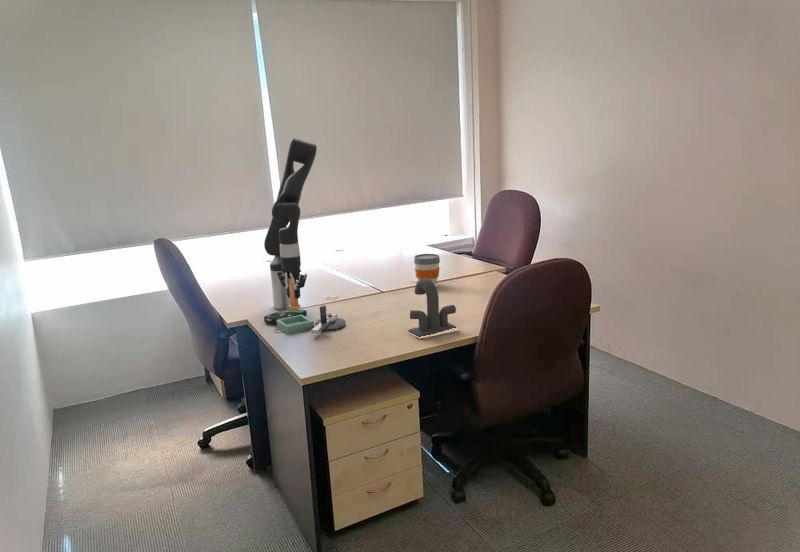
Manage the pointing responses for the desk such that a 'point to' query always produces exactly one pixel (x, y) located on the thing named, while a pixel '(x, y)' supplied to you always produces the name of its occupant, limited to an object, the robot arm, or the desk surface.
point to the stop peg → (292, 296)
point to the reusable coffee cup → (427, 267)
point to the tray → (295, 324)
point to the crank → (324, 320)
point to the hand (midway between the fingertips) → (294, 297)
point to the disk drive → (284, 315)
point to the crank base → (333, 325)
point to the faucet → (431, 311)
